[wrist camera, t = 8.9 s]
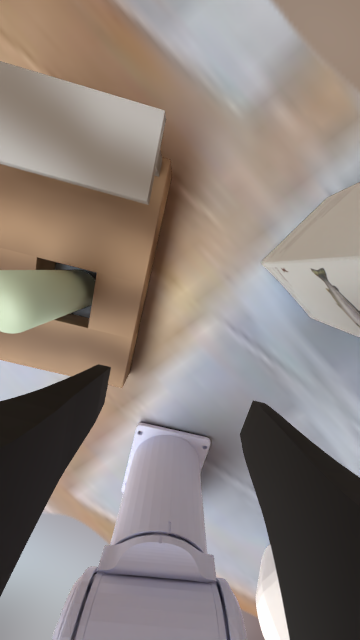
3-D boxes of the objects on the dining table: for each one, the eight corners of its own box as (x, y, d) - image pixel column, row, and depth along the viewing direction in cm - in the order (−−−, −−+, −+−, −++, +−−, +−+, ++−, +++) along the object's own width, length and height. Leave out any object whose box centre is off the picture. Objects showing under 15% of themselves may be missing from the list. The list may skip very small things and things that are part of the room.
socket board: (128, 374, 21) (103, 425, 14) (7, 345, 20) (-82, 384, 13) (172, 175, 17) (164, 110, 10) (20, 132, 16) (-99, 31, 9)
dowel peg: (94, 311, 19) (35, 340, 12) (58, 302, 19) (-27, 324, 11) (100, 275, 19) (41, 279, 11) (63, 265, 18) (-26, 262, 11)
